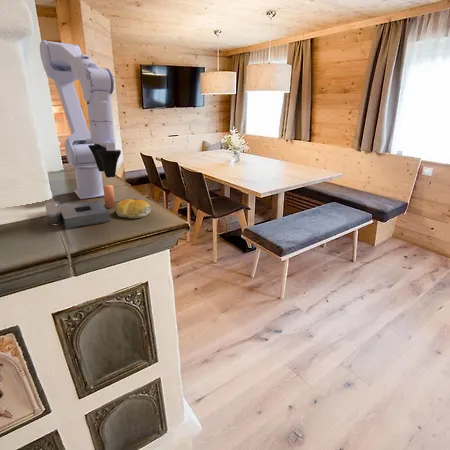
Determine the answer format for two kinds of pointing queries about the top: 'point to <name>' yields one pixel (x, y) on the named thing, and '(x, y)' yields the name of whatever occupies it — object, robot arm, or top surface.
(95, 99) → the robot arm
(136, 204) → the bread roll
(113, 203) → the sausage
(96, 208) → the slotted grey box
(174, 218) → the top surface
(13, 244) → the top surface
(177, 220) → the top surface
